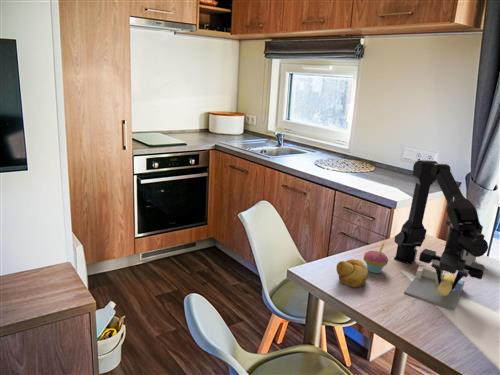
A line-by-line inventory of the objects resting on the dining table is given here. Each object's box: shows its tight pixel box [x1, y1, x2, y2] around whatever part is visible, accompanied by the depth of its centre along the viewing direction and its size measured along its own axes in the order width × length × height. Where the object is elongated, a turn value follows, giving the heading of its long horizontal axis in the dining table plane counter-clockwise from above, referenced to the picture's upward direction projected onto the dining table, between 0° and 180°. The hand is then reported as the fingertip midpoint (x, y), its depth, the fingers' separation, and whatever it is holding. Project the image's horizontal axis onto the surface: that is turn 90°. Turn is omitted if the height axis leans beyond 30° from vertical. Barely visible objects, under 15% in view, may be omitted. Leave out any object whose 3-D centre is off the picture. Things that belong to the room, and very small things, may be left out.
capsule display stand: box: [403, 265, 466, 311], centre depth 141 cm, size 15×17×4 cm
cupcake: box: [362, 241, 389, 274], centre depth 151 cm, size 9×8×12 cm
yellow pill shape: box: [437, 273, 456, 296], centre depth 138 cm, size 14×4×4 cm, turn 145°
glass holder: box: [460, 223, 484, 265], centre depth 164 cm, size 9×14×15 cm, turn 133°
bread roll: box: [336, 259, 369, 288], centre depth 143 cm, size 13×10×8 cm
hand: (446, 286), depth 139 cm, fingers closed on yellow pill shape, 4 cm apart
